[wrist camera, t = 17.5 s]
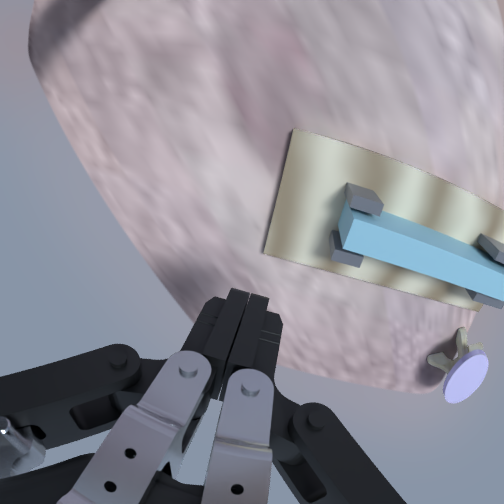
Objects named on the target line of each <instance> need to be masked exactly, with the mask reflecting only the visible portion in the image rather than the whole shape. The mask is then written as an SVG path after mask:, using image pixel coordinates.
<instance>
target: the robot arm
mask: <svg viewBox="0 0 504 504" xmlns="http://www.w3.org/2000/svg"><path fill="white" fill-rule="evenodd" d="M249 295H250V293H249V292H245V291H242V290H238V289H235V288H231V290H230V292H229V294H228V297H227V299H222V298H219V297H213V298H212V299H210V300H209V301H208V302H206V303H205V305H204V307H203V309H202V311H201V313H200V314H199V316H198V318H197V321H196V322H195V324H194V326H193V328H192V330H191V332H190V334H189V335H188V337H187V339H186V341H185V343H184V345H183V347H182V349H181V350H180V351H179V352H177V353H174V354H173V355H171V356H170V357H169V358H168V359H165V360H151V359H142V358H140V357H139V355H138V353H137V352H136V351H135V350H134V349H133V348H131V347H130V346H128V345H124V344H112V345H109V346H106V347H103V348H99V349H96V350H93V351H90V352H87V353H83V354H80V355H77V356H73V357H70V358H67V359H63V360H60V361H57V362H53V363H50V364H46V365H43V366H39V367H36V368H32V369H28V370H25V371H21V372H17V373H14V374H10V375H6V376H2V377H0V504H267V503H268V494H269V485H270V476H271V466H272V462H273V464H274V465H275V467H276V469H277V470H278V472H279V473H280V475H281V476H282V478H283V479H284V481H285V482H286V484H287V485H288V487H289V488H290V490H291V491H292V493H293V494H294V496H295V497H296V499H297V500H298V502H299V503H300V504H407V503H406V502H405V501H404V500H403V499H402V498H401V496H400V495H399V494H398V493H397V492H396V490H395V489H394V488H393V487H392V486H391V484H390V483H389V482H388V481H387V480H386V478H385V477H384V476H383V475H382V473H381V472H380V471H379V470H378V468H377V467H376V466H375V465H374V463H373V462H372V461H371V460H370V458H369V457H368V456H367V455H366V454H365V453H364V451H363V450H362V448H361V447H360V446H359V445H358V443H357V442H356V441H355V440H354V439H353V437H352V436H351V435H350V433H349V432H348V431H347V429H346V428H345V427H344V426H343V424H342V423H341V422H340V420H339V419H338V418H337V416H336V415H335V414H334V413H333V412H332V410H331V409H329V408H328V407H326V406H325V405H322V404H319V403H306V404H303V405H301V406H300V405H299V404H296V403H295V402H293V401H291V400H289V399H287V398H286V397H284V396H283V395H282V394H281V393H280V392H279V391H278V389H277V388H276V386H275V382H274V373H275V368H276V362H277V357H278V351H279V344H280V339H281V334H282V328H283V323H282V321H281V318H280V315H279V314H276V313H273V312H269V311H266V310H267V306H268V302H269V298H267V297H264V296H260V295H256V294H253V293H251V295H250V298H249ZM248 299H249V301H248ZM247 303H248V304H247ZM222 384H223V385H222ZM221 387H222V390H221ZM220 390H221V394H220V398H219V401H223V404H222V408H221V412H220V416H219V420H218V424H217V428H216V433H215V437H214V441H213V446H212V450H211V454H210V459H209V463H208V468H207V471H206V476H205V480H204V484H203V486H202V485H190V484H183V483H180V482H178V481H176V480H175V479H176V477H177V475H178V473H179V470H180V467H181V465H182V461H183V459H184V456H185V454H186V452H187V450H188V448H189V445H190V444H191V442H192V439H193V437H194V435H195V433H196V431H197V429H198V427H199V425H200V423H201V420H202V418H203V416H204V413H205V412H206V410H207V407H208V405H209V402H210V399H211V398H212V399H216V400H217V399H218V396H219V393H220ZM109 429H111V431H110V432H109V434H108V435H107V437H106V438H105V440H104V441H103V443H102V444H101V446H100V447H99V449H98V450H97V452H96V453H89V454H84V455H80V456H77V457H74V458H72V459H69V460H66V461H63V462H60V463H57V464H54V465H51V466H48V467H44V468H41V469H38V470H34V471H30V470H31V469H33V468H34V467H37V466H39V465H40V464H42V463H43V462H44V458H45V454H46V451H45V450H46V449H50V448H54V447H58V446H60V445H64V444H68V443H70V442H74V441H77V440H80V439H83V438H86V437H89V436H92V435H95V434H98V433H101V432H103V431H106V430H109ZM29 471H30V472H29Z"/></svg>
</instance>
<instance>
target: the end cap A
mask: <svg viewBox="0 0 504 504" xmlns="http://www.w3.org/2000/svg"><path fill="white" fill-rule="evenodd" d="M344 194H345V197H346V199H347V202H348V204H349V207H351V208H354V209H357V210H360V211H364V212H367V213H370V214H373V215H376V216H379V217H380V215H381V212H382V210H383V207H384V204H383V202H382V201H381V200H380V198H379V197H378V196H377V194H376V193H375V192H374V191H373V190H370V189H367V188H364V187H361V186H358V185H355V184H352V183H349V182H347V184H346V188H345V191H344ZM329 246H330V256H331V260H332V261H336V262H339V263H343V264H347V265H350V266H354V267H357V268H360V266H361V263H362V261H363V259H364V256H363V255H362V254H359V253H355V252H352V251H349V250H345V249H343V247H342V242H341V237H340V233H339V232H338V231H335V230H332V231H331V234H330V237H329Z"/></svg>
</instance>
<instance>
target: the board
mask: <svg viewBox="0 0 504 504" xmlns="http://www.w3.org/2000/svg"><path fill="white" fill-rule="evenodd" d="M347 182H349V183H352V184H355V185H358V186H361V187H364V188H367V189H370V190H373V191H374V192H375V193H376V194H377V196H378V197H379V198H380V200H381V201H382V202H383V204H384V207H383V210H382V211H385V212H388V213H391V214H393V215H396V216H399V217H402V218H404V219H407V220H410V221H412V222H415V223H417V224H420V225H423V226H425V227H428V228H430V229H433V230H435V231H438V232H440V233H443V234H445V235H448V236H450V237H452V238H455V239H457V240H460V241H462V242H464V243H466V244H469V245H471V246H473V247H476V248H478V249H480V250H482V251H484V252H487V251H486V250H485V249H484V248H483V247H482V246H481V245H480V244H479V243H478V242H477V241H478V238H479V236H480V234H481V233H482V234H484V235H486V236H488V237H491V238H493V239H495V240H497V241H499V242H501V243H503V244H504V210H502V209H500V208H499V207H497V206H495V205H493V204H491V203H490V202H488V201H486V200H484V199H482V198H480V197H478V196H476V195H474V194H472V193H470V192H468V191H466V190H464V189H462V188H460V187H458V186H456V185H454V184H452V183H450V182H448V181H445V180H443V179H441V178H439V177H437V176H434V175H432V174H430V173H427V172H425V171H423V170H420V169H418V168H415V167H413V166H411V165H408V164H405V163H403V162H400V161H398V160H395V159H392V158H390V157H387V156H384V155H382V154H379V153H376V152H373V151H370V150H367V149H364V148H361V147H358V146H355V145H352V144H349V143H346V142H342V141H339V140H336V139H332V138H329V137H326V136H322V135H318V134H315V133H311V132H307V131H303V130H300V129H296V128H294V129H293V134H292V138H291V142H290V146H289V150H288V155H287V159H286V163H285V167H284V171H283V176H282V180H281V184H280V188H279V192H278V196H277V200H276V205H275V209H274V213H273V217H272V221H271V225H270V229H269V233H268V237H267V241H266V245H265V249H264V253H263V254H267V255H270V256H274V257H278V258H282V259H285V260H289V261H293V262H296V263H300V264H304V265H308V266H311V267H315V268H319V269H322V270H326V271H330V272H333V273H337V274H341V275H345V276H348V277H352V278H356V279H359V280H363V281H367V282H370V283H374V284H378V285H382V286H385V287H389V288H393V289H396V290H400V291H404V292H407V293H411V294H415V295H418V296H422V297H426V298H429V299H433V300H437V301H440V302H444V303H448V304H451V305H455V306H459V307H462V308H466V309H470V310H473V311H477V312H479V311H480V309H481V307H482V306H483V304H482V303H479V302H476V301H473V300H472V299H471V297H470V296H469V294H468V292H467V291H466V289H465V288H464V287H461V286H458V285H455V284H452V283H449V282H446V281H443V280H440V279H437V278H434V277H431V276H428V275H425V274H422V273H419V272H416V271H413V270H410V269H407V268H404V267H400V266H397V265H394V264H391V263H388V262H385V261H381V260H378V259H375V258H372V257H368V256H365V255H363V256H364V259H363V261H362V263H361V266H360V268H357V267H354V266H350V265H347V264H343V263H339V262H336V261H332V260H331V256H330V246H329V237H330V234H331V231H332V230H335V231H338V232H339V228H338V222H339V219H340V216H341V213H342V210H343V207H344V204H345V201H346V197H345V194H344V191H345V188H346V184H347ZM487 253H488V252H487Z"/></svg>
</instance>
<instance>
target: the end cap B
mask: <svg viewBox="0 0 504 504" xmlns="http://www.w3.org/2000/svg"><path fill="white" fill-rule="evenodd" d="M477 242H478V243H479V244H480V245H481V246H482V247H483V248H484V249H485V250H486V251H487V252H488V253H489V254H490V255H491V256H492V257H493V259H494V260H496V261H498V262H500V263H502V264H503V265H504V244H503V243H501V242H499V241H497V240H495V239H493V238H491V237H488V236H486V235H484V234H482V233H481V234H480V236H479V238H478V241H477ZM465 289H466V291H467V292H468V294H469V296H470V297H471V299H472V300H473V301H476V302H479V303H482V304H486V305H489V306H492V307H496V308H499V309H502V307H503V306H504V301H501V300H499V299H496V298H493V297H490V296H487V295H484V294H482V293H479V292H476V291H473V290H470V289H467V288H465Z"/></svg>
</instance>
